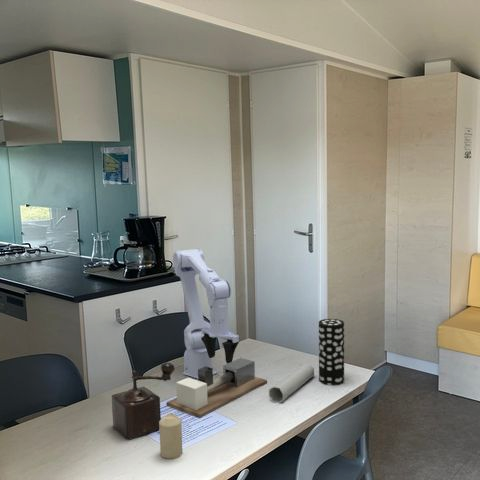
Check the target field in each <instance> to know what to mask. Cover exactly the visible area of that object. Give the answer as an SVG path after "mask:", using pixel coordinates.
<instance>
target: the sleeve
mask: <svg viewBox="0 0 480 480" xmlns="http://www.w3.org/2000/svg"><path fill="white" fill-rule="evenodd" d="M229 371H232V372H233V373H234V375H235V379H234V380H232V381H230V382H228V383H226V384H228V385H231V386H235V387H239V386H241V385H243V384H245V383H247V382H249V381H251V380H253V379H255V377H256V376H255V375H256V374H255V371H256V370H255V361H253V360H251V359H246V358H243V357H239V358H237V359H235V360H232V362H230V363H225V364H223V365H222V375H223V374H225V373H227V372H229Z"/></svg>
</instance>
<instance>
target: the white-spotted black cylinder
mask: <svg viewBox="0 0 480 480" xmlns="http://www.w3.org/2000/svg"><path fill="white" fill-rule="evenodd" d="M318 381H319V383H321V384H323V385H327V386H339V385H342V384H343V383H344V382H345V322H344V320H341V319H338V318H337V319H336V318H325V319H324V318H323V319H321V320H318Z"/></svg>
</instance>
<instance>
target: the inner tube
mask: <svg viewBox="0 0 480 480" xmlns="http://www.w3.org/2000/svg"><path fill="white" fill-rule="evenodd" d="M213 371H214V369H213V367H212V368H210V367H206V366H205V367H203V368H201V369H198V379H197V381H201V382H204V383H207V392H209V391H211V390H214V389H216V388H218V387H220V386H222V385H224V384H226V383H228V382H230V381H232V380H234V379H235V375H234V373H233V372H232V371H229V372H227V373H225V374H223V373H222V374H221V375H219V376H218V375H217V376H216V377H215V378H214V375H213Z"/></svg>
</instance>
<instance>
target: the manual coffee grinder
mask: <svg viewBox="0 0 480 480" xmlns="http://www.w3.org/2000/svg"><path fill="white" fill-rule="evenodd" d="M175 369H176V368H175V365H174V364H173V363H171V362H163V363H162V364H161V365H160V370H161V373H162V374H161V376H156V375H143V376H142V375H141V376H137V371H136V370H132V372H131V379H132V386H133V387H132V388H130V389H127V390H125V391H122V392H117V393H115V394H111V410H112V411H111V412H112V413H111V414H112V427H113V428H114V429H115V430H116V431H117V432H118V433H119V434H120V435H121V436H122V437H123V438H125V440H128V441H129V440H132V439H136V438H140V437H143V436H146V435H148V434H150V433H153V432H156V431H158V430H159V421H160V420H161V419H162V418H161V415H162V414H161V397H160V396H159V395H158V394H156V393H155V392H153V391H152V390H151V389H149V388H147V387H146V386H140V387H138V385H137V380H140V381H141V380H158V381H164V382H166V381H171V375H172V373H174V372H175ZM159 431H160V430H159Z"/></svg>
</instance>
